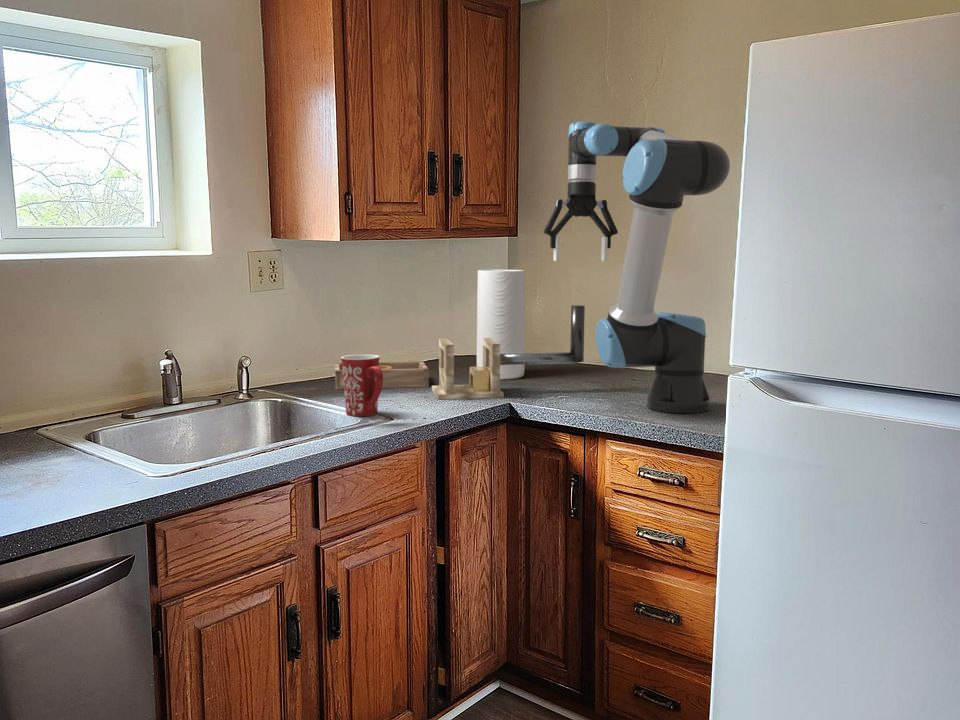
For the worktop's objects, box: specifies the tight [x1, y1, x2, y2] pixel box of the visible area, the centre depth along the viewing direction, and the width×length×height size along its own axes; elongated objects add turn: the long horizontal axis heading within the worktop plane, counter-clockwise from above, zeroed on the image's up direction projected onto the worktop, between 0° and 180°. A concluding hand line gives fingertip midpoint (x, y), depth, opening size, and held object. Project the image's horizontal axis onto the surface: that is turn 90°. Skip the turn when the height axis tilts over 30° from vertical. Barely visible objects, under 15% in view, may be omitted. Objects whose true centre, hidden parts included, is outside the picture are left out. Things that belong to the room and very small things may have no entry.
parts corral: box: [334, 360, 430, 390], centre depth 239 cm, size 15×25×5 cm, turn 100°
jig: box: [431, 338, 505, 400], centre depth 222 cm, size 17×14×14 cm
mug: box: [340, 353, 383, 417], centre depth 195 cm, size 13×9×14 cm
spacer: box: [469, 366, 489, 391], centre depth 223 cm, size 7×4×6 cm, turn 10°
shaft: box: [488, 304, 586, 365], centre depth 224 cm, size 26×4×16 cm, turn 100°
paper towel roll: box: [476, 269, 526, 381], centre depth 250 cm, size 14×14×32 cm
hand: (580, 261), depth 231 cm, fingers open, 13 cm apart
